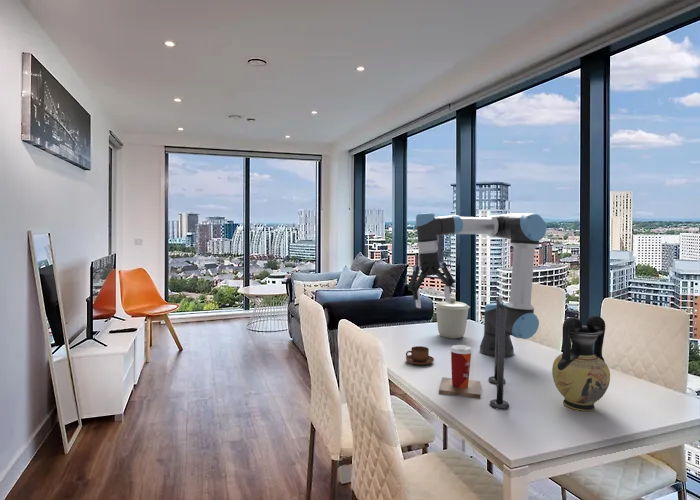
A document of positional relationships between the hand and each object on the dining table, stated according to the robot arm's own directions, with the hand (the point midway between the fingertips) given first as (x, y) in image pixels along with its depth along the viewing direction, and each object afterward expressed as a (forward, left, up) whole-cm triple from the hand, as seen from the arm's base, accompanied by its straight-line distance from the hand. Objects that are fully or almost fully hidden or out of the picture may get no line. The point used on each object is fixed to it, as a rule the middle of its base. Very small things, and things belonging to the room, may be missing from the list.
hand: (433, 305), depth 180 cm
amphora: (-34, +42, -27) cm, 60 cm away
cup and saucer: (0, -13, -28) cm, 31 cm away
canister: (-35, -52, -27) cm, 68 cm away
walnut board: (-2, +19, -27) cm, 33 cm away
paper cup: (-2, +19, -26) cm, 33 cm away
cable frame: (-14, +26, -27) cm, 40 cm away
